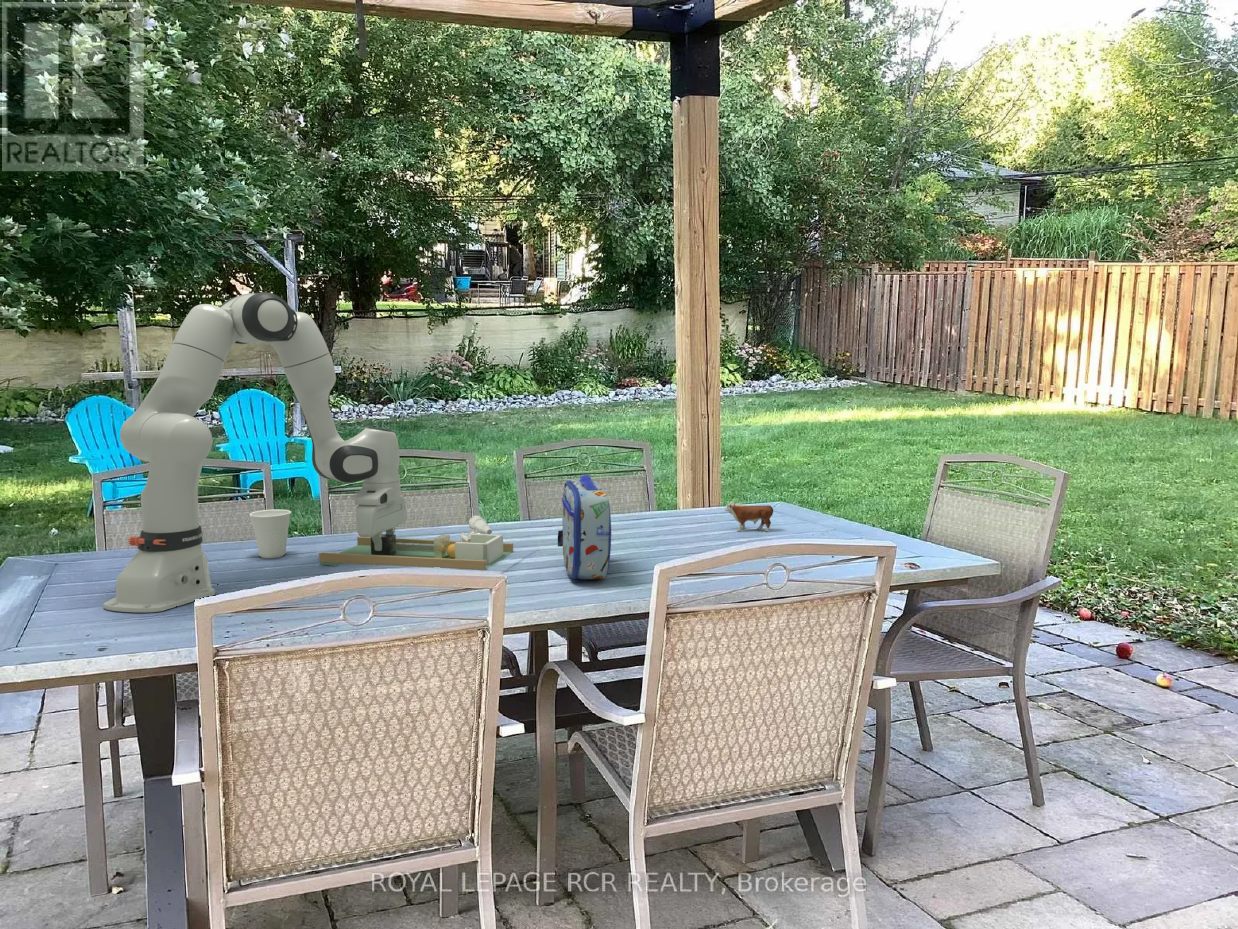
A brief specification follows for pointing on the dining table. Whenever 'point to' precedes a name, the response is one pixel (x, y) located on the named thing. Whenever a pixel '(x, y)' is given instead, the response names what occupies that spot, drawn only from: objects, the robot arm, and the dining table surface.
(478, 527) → the cream rounded piece
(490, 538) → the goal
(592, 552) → the lunch box
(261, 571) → the dining table surface
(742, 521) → the bull figurine
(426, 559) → the pitch
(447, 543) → the kicker rod
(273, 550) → the cup
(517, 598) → the dining table surface
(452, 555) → the ball
